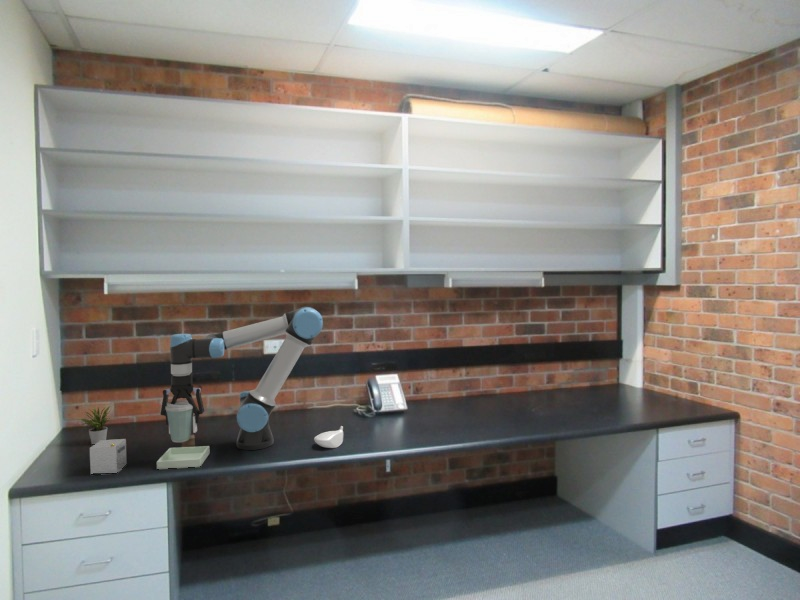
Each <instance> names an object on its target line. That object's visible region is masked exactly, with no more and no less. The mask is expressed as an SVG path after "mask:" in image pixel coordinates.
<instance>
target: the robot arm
mask: <svg viewBox="0 0 800 600" xmlns="http://www.w3.org/2000/svg"><path fill="white" fill-rule="evenodd" d="M323 320H324V319H323V316H322V314H321V313H320V312H319V311H317V310H316V309H315V308H313V307H312V306H302V307H299V308H297V309H295V310H292V311H289V312H288V311H287V312H285V313H284V314H283V315H282V316H280V317H275V318H271V319H267V320H264V321H260V322H256V323H252V324H248V325H245V326H241V327H237V328H234V329H233V328H232V329H229V330H225V331H221V332H218V333H211V334H208V335H207V336H205V338H192V335H191V333H176V334H175V333H174V334H172V335H171V336H170V342H169V343H170V346H169V349H170V350H169V351H170V353H169V354H170V374H171V376H170V381H171V382H170V384H171V385H170V388H165V389H163V390H162V395H163V397H162V402H161V403H162V404H161V409H160V416H164V417H165V425H166V426H169V423H168V417H167V412H166V409H165V406H166V405H167V403H168V402H169V396H170V394H172V395H173V396H172V399H171V401H172V402H171V401H170V402H171V404H173V405H174V404H175V403H176V401H178V400H179V399H185V400H186V401H188V402H189V404H191V406H193V409H192V410H193V412H194V413H193V421H192V431H193V434H194V433H195V434H196V433H197V432H198V425H199V423H200V421H201V420H200V415H202V414H204V413H205V407H204V403H203V398H202V394H201V393H202V388H201V387H194V385H193V374H192V373H193V359H212V358H213V359H216V358H222V357H223V356H225V351H227V350H230V349H234V348H237V347H241V346H245V345H249V344H252V343H256V342H260V341H264V340H267V339H272V338H275V337H279V336H284V335H285V338H284V340H283V342H282V343H281V345H280V347H279V348H278V349H277V352H276V354H275V356H274V357H273V359H272V361H271V362H270V364H269V365H268V367H267V369H266V371H265V373H264V374H263V375H262V377H261V378H260V380H259V382H258V384H257V385H256V388H254V389H252V390H245V391H241V392H240V393H239V398H238V399H239V407H238V411H237V412H236V422H237V425H238V426H239V428H240V429H239V432H238V434H237V435H238V436H237V438H236V447H237V449H240V450H245V451H255V450H261V449H266V448H269V447H270V446H273V445H274V442H275V441H274V436H273V433H272V430H271V427H270V420H269V417H270V415H271V414H272V412H273V410H274V408H275V407H276V405H277V404H276V401H275V399H276V397H277V396H278V394H279V392H280V391H281V389H282V387H283V386H284V384H285V382H286V381H287V378H288V377H289V375H290V374H291V372H292V370H293V368H294V366H295V365H296V363H297V361H298V360H299V358H300V356H301V355H302V353H303V351H304V349H305V348H307V347H310V346H311V345H312V343H313V341H314V340H315V339H316V337H317V336H318V335H319V334H320V333H321V332H322V329H323V325H324V321H323ZM192 393H194V394H195V399H196V402H195V400H194V398H193V395H192ZM196 403H197V405H196ZM168 434H169V435H170V434H171V433H170V428H169V427H168Z"/></svg>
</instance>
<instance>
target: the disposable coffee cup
mask: <svg viewBox="0 0 800 600" xmlns="http://www.w3.org/2000/svg"><path fill="white" fill-rule="evenodd" d="M171 402H172V400H171V401H168V402H167V405H166V406H165V409H166V412H167V417H168V423H169V425H168V429H169V428H170V433H171V434H169V435H170V439H171V441H172V442H173V443H182V442H185V441H188V440H189V438H190V435H192V429H193V416H194V412H193V410H192V409H193V406H191V404H189V402H188V401H187V400H177V401H176V403H175V404H174V405H173V404H171Z"/></svg>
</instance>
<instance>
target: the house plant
mask: <svg viewBox="0 0 800 600" xmlns="http://www.w3.org/2000/svg"><path fill="white" fill-rule="evenodd" d="M111 407H113V405H109V406H107V407H106V406H105V407H104V408H103V409H101V413H100V407H98V406H97V409H96V408H95V407H93V406H92V408H93V410H91V409H89V411H90V412H91V413H92V414H91V413H90V412H88V411H87V412H86V411H84V412H83V415H86V416H87V417H88V418H90V419H91V420H89V419H86V418H77V420H79V421H81V422H83V423H81V424H80V427H81V426H83V425H88V426H89V427H91V428H89V429H88V434H89V438H90V443H91V445H92V444H96V443H97V442H99V441H100V440H107V435H108V434H107V433H108V427H107V426H105V424H107V423H108V422H110V420H111V418H109V417H108V413H110V411H111ZM78 412H79V413H80V411H78ZM93 415H94V416H93ZM108 419H109V420H108Z"/></svg>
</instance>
